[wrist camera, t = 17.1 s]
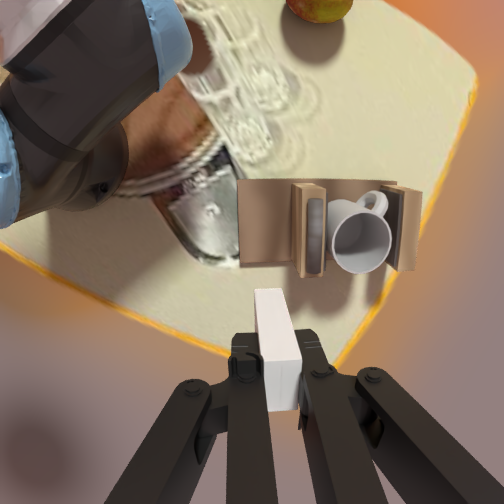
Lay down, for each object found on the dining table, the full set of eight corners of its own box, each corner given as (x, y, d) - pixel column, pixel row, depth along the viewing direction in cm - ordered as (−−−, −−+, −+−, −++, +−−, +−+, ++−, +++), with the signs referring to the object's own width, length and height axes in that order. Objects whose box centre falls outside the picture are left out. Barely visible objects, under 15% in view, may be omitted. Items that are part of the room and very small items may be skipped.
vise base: (240, 260, 44) (239, 283, 36) (237, 179, 40) (236, 185, 33) (388, 255, 44) (413, 274, 36) (393, 181, 41) (422, 187, 33)
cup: (302, 230, 42) (318, 250, 33) (348, 171, 39) (375, 176, 31) (341, 260, 43) (364, 285, 35) (385, 204, 41) (416, 217, 32)
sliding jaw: (291, 258, 42) (303, 283, 34) (291, 183, 39) (305, 190, 31) (313, 257, 42) (329, 281, 34) (314, 183, 39) (333, 190, 31)
